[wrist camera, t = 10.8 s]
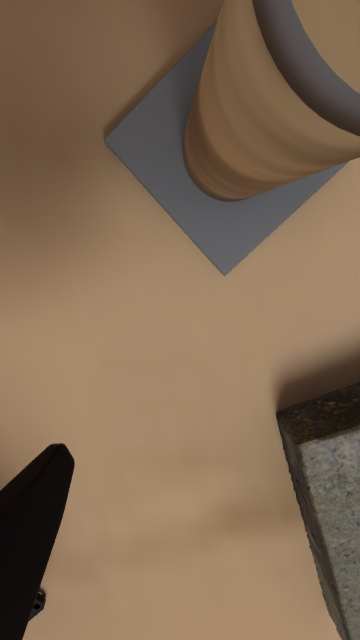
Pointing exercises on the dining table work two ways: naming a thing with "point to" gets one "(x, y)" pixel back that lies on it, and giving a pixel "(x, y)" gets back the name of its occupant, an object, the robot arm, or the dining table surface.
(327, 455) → the stone block
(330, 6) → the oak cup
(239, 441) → the dining table surface
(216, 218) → the slate mat
